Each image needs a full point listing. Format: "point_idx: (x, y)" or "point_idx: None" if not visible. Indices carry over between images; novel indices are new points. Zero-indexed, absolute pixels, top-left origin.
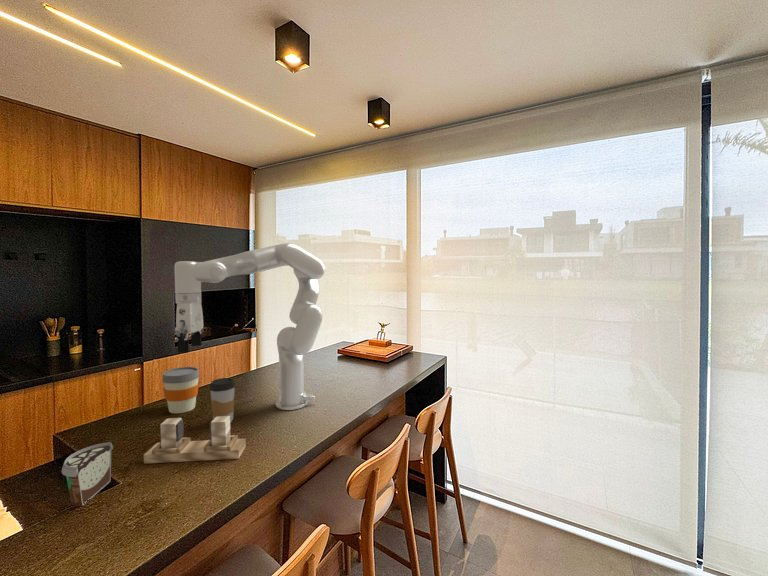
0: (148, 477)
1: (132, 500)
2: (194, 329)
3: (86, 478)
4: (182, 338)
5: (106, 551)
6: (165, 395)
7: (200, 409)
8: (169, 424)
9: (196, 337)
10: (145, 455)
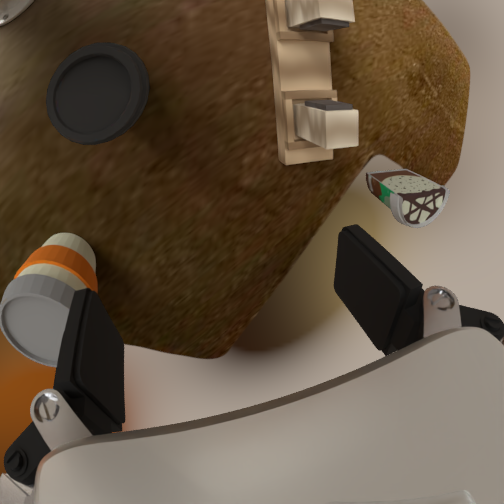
0: (363, 119)
1: (406, 111)
2: (451, 374)
3: (421, 181)
4: (462, 308)
5: (458, 97)
6: None
7: (58, 211)
8: (357, 124)
9: (102, 376)
10: (332, 155)
